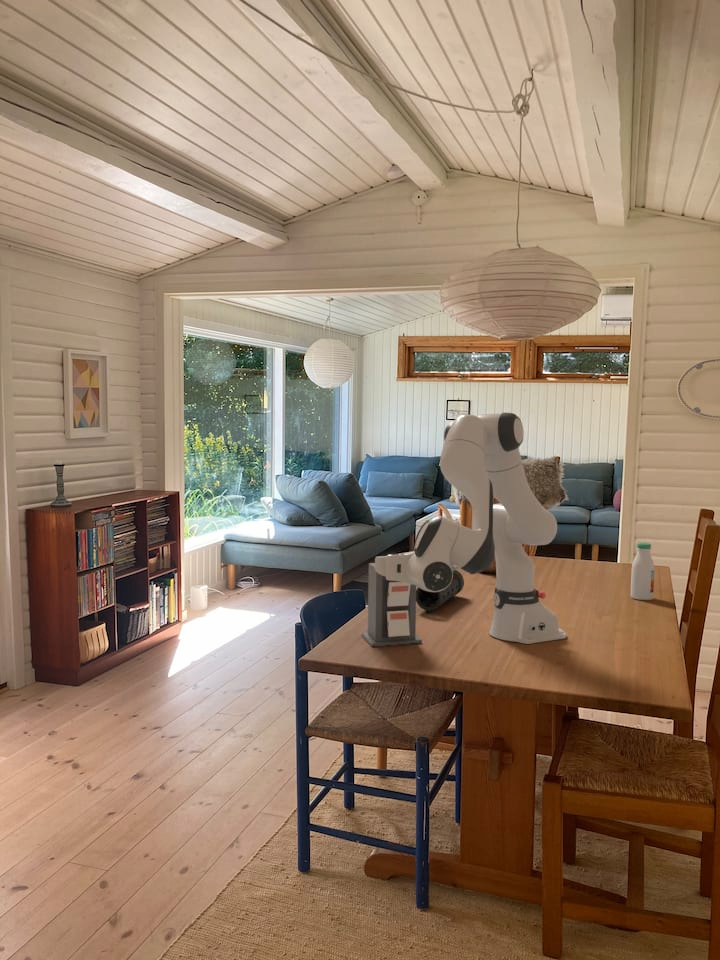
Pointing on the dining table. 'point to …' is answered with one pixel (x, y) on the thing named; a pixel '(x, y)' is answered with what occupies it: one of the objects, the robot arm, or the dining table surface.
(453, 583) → the muzzle brake
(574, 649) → the dining table surface
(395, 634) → the lower rocker
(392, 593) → the upper rocker
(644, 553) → the milk bottle
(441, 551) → the robot arm
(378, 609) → the grey framed tower stand
